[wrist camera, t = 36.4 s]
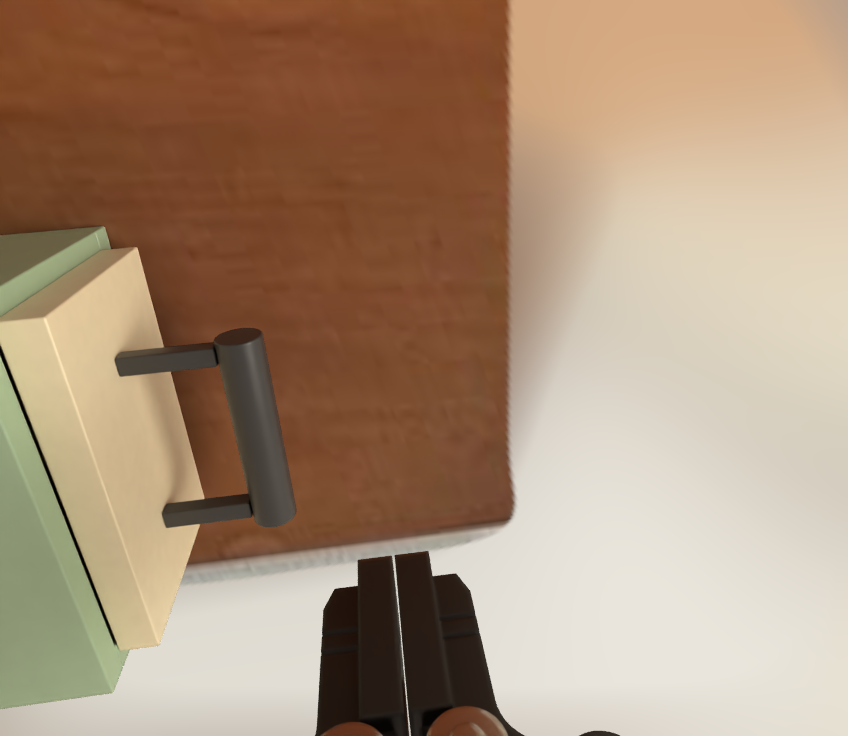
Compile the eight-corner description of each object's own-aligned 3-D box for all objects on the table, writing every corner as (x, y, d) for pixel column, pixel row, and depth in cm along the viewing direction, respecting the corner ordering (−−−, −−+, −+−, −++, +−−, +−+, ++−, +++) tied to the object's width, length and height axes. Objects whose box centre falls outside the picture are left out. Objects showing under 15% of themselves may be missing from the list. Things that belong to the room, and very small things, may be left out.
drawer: (265, 234, 21) (230, 299, 14) (311, 492, 25) (299, 627, 19) (-239, 280, 19) (-515, 372, 13) (-97, 542, 24) (-253, 703, 18)
